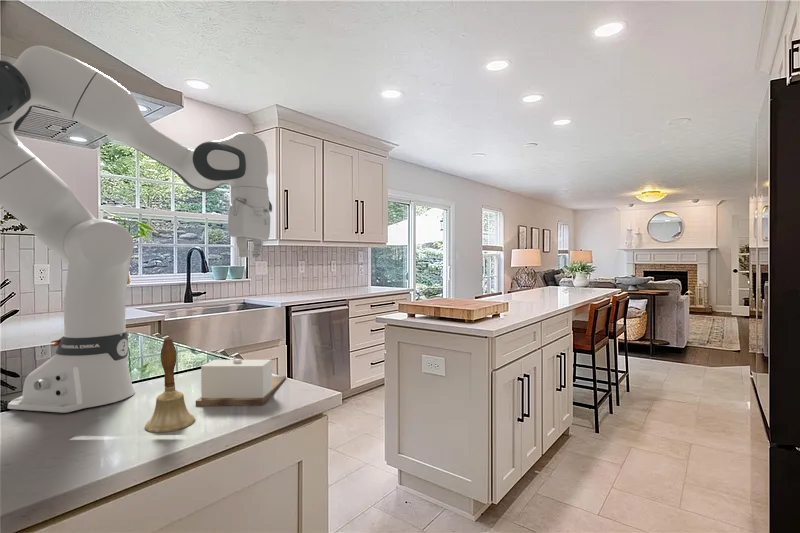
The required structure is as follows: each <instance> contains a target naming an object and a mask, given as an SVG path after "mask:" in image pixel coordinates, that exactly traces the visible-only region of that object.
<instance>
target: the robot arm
mask: <svg viewBox="0 0 800 533" xmlns="http://www.w3.org/2000/svg"><path fill="white" fill-rule="evenodd" d="M33 106H43V107H46V108H49V109H52V110H54V111H56V112H58V113H60V114H62V115H64V116H66V117H67V118H69V119H72V120H74V121H76V122H78V123H79V124H80V125H84V126H86V127H88V128H91V129H92V130H95V131H96V132H98V133H100V134H101V133H102V134H103V135H106V136H108V137H110V138H113V139H114V140H117V141H119V142H120V143H123V144H125V145H128V146H129V147H131V148H133V149H135V150H137V151H138V152H140V153H142V154H144V155H145V156H147V157H148V158H151V159H152V160H154V161H155V162H158V163H159V164H161V165H163V166H164V167H167V168H168V169H169V170H171V171H173V172H174V173H175V174H176V175H177V176H178V177H179V178H180V179H181V180H182V182H183V183H185V184H186V186H188V187H189V188H190V189H192V190H195V191H197V192H201V193H202V192H203V193H208V192H213V191H215V190H216V189H218V187H220V185H222V184H226V185H229V186H230V206H229V208H228V217H227V218H228V220H227V232H228V235H229V237H232V238H235V239H236V245H237V248H238V257H240V258H248V257H249V256H250V255H249V249H248V240H249V241H252V244H253V250H251V252H252V255H251V256H252V258H254V259H255V258H256V259H257V258H262V248H263V246H264V244H263V243H264V242H263V241H269V239H270V235H271V233H270V232H271V213H272V212H273V204H272V203H271V201H270V197H269V187H268V175H269V160H268V151H267V147H266V143H265V141H264V140H262V138H260V137H258V136H257V135H254V134H251V133H248V132H236V133H234V134H233V135H231V136H228V137H226V138H224V139H220V140H213V141H212V140H211V141H210V140H209V141H205V142H202V143H199V144H198V145H197V146H196V147H195V148H194V149H191V148H188V147H186V146H184V145H182V144H180V143H179V142H177V141H175V140H173V139H172V138H170V137H169V136H167V135H166V134H164V133H162V132H160V131H159V130H157V129H156V128H154V127H153V125H151V124H150V123H149V121H148V120H147V119H146V118H145V116H144V115H143V113H142V111H141V110H140V107H139V105H138V102H137V99H136V98H135V97H134V95H133V94H132V93H131V92H130V91H129V90H127V88H126V87H124V86H122V85H121V83H118V82H117V80H114V78H112V77H110V76H108V75H106V74H104V72H101V71H99V70H98V69H96V68H94V67H92V66H91V65H88V64H87V63H85V62H84V61H81V60H79V59H77V58H75V57H72V56H71V55H68V54H66V53H64V52H61V51H59V50H56V49H54V48H51V47H49V46H46V45H32V46H30V47H28V48H26V49H25V50H24V51H22V52H21V53H20V55H18V57H17V59H16V61H15V62H13V63H10V62H9V61H6V60H1V59H0V207H2V208H3V209H5V210H6V212H8V213H9V214H11V215H12V216H13V217H14V218H15V219H16V220H18V221H19V222H20V223H21V224H22V225H23V226H24V227H26V229H28V230H29V231H30V232H31V233H32V234H33V235H34V236H35V237H36V238H37V239H38V240H39V241H40V242H42V243H43V244H44V245H45V246H46V247H47V248H48V249H49V250H50V251H52V252H53V253H54V254H55V255H56V256H57V257H58V258H60V259H61V261H63V262H64V263H65V264H66V265H67V275H66V284H65V291H64V292H65V293H64V297H63V336H62V337H60V338H59V339H57V340H52V341H50V343H53V344H51V345H50V347H51V348H53V347H57V348H56V349H55V350H56V351H55V354H54V355H53V356H52V357H50V358H48V359H47V360H46V361H45V362H43V363H42V364H41V365H40V366H38V367H36V369H34V370H32V371H31V372H30V373H29V374H28V375H27V376H26V377H25V380H24V382H23V387H22V395H20V396H19V397H16V398H13V399H12V400H11V401H10V402H8V403H7V409H9V410H22V411H23V410H24V411H35V412H48V413H49V412H50V413H62V414H63V413H71V412H74V411H79V410H82V409H87V408H94V407H98V406H105V405H108V404H112V403H117V402H119V401H120V402H121V401H123V400H126V399H127V398H130V397H131V396H133V395H135V393H136V390H135V388H134V385H133V383H132V379H131V374H130V370H129V362H128V353H129V333H128V331H127V330H126V297H127V296H126V295H127V286H128V280H129V277H130V276H129V275H130V269H131V261H132V260H131V259H132V254H133V252H134V247H135V242H134V238H133V236H132V235H131V233H130V232H129V231H128V230H127V229H126V228H125V227H124V226H123V225H121V224H120V223H117V222H116V221H113V220H110V219H105V218H96V217H95V216H94V215H93V214H92V212H90V210H89V209H88V208H87V207H86V206H85V205H84V204H83V202H82V201H81V200H80V199H79V197H78V196H77V195H76V193H75V192H74V190H73V189H72V188H71V187H70V186H69V184H67V183H66V182H65V181H64V180H63V179H62V178H60V176H59V175H57V174H56V173H55V172H54V171H53V170H52V169H51V168H50V167H48V165H46V164H45V163H44V162H43V161H42V160H41V159H40V158H38V157H37V156H36V154H34V153H33V152H32V151H30V150H29V148H27V147H26V146H25V145H24V144H23V143H22V141H20V139H19V138H18V137H17V136H16V133H15V131H17V130H18V129H19V128H20V126H21V125H22V123H23V122H24V121H25V119H26V118H27V117H28V115H29V114H30V112H31V111H32V109H33Z"/></svg>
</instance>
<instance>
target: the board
mask: <svg viewBox="0 0 800 533" xmlns="http://www.w3.org/2000/svg"><path fill="white" fill-rule="evenodd" d="M278 376H279V375H278ZM278 376H273V375H272V390H271V391H270V392H269V393H268V394H267V395H266V396H264V397H263V398H202V396H201V397H198V399H196V400H195V407H197V406H198V407H199V406H200V407H202V406H205V407H206V406H207V407H208V406H210V407H211V406H213V407H214V406H215V407H216V406H263V405H264V404H265V403H267V401H268V400H269V399H270V398H271V397H272V396H273V394H274V393H275V392H276V390H278V389H279V387H280V386H281V385H282V384H283V382H284V381H285V380H286V379H287V376H286V375H285V376H283V375H282V376H281V375H280V376H279V377H278ZM285 378H286V379H285Z"/></svg>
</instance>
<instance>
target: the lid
mask: <svg viewBox="0 0 800 533" xmlns="http://www.w3.org/2000/svg"><path fill="white" fill-rule="evenodd" d="M272 363H273V362H272V359H242V358H234V359H212V360H211V361H208V362H206V363H204V364H203V365H201V366H200V371H201V372H200V376H201V378H200V379H201V380H200V381H201V382H200V383H201V387H200V388H201V397H202V398H263V397H264V396H266V395H267V394H268V393H269V392H270V391H271V390H272V376H273V372H272V371H273V370H272V369H273V366H272Z"/></svg>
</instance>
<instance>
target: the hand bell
mask: <svg viewBox="0 0 800 533" xmlns="http://www.w3.org/2000/svg"><path fill="white" fill-rule="evenodd" d="M160 362H161V366H162V369H163V372H164V384H163V385H164V391H163V392H162V393H160V394H159V395H157V397H156V399H155V407H154V411H153V413H152V416H151V417H150V419H149V420H148V421H147V422H146V423H145V425H144V430H146V431H147V432H150V433H169V432H170V433H171V432H175V431H178V430H182V429H185V428H187V427H189V426H191V425H192V424H193V423H195V421H196V417H195V415H193V414H192V413H191V412H190V411H189V410H188V407H187V406H186V402H185V396H184V393H183V392H182V391H178V390H176V384H175V368H176V364H177V349H176V346H175V344H174V340H173V338H172V337H167V338H164V339H163V343H162V347H161V349H160Z"/></svg>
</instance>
